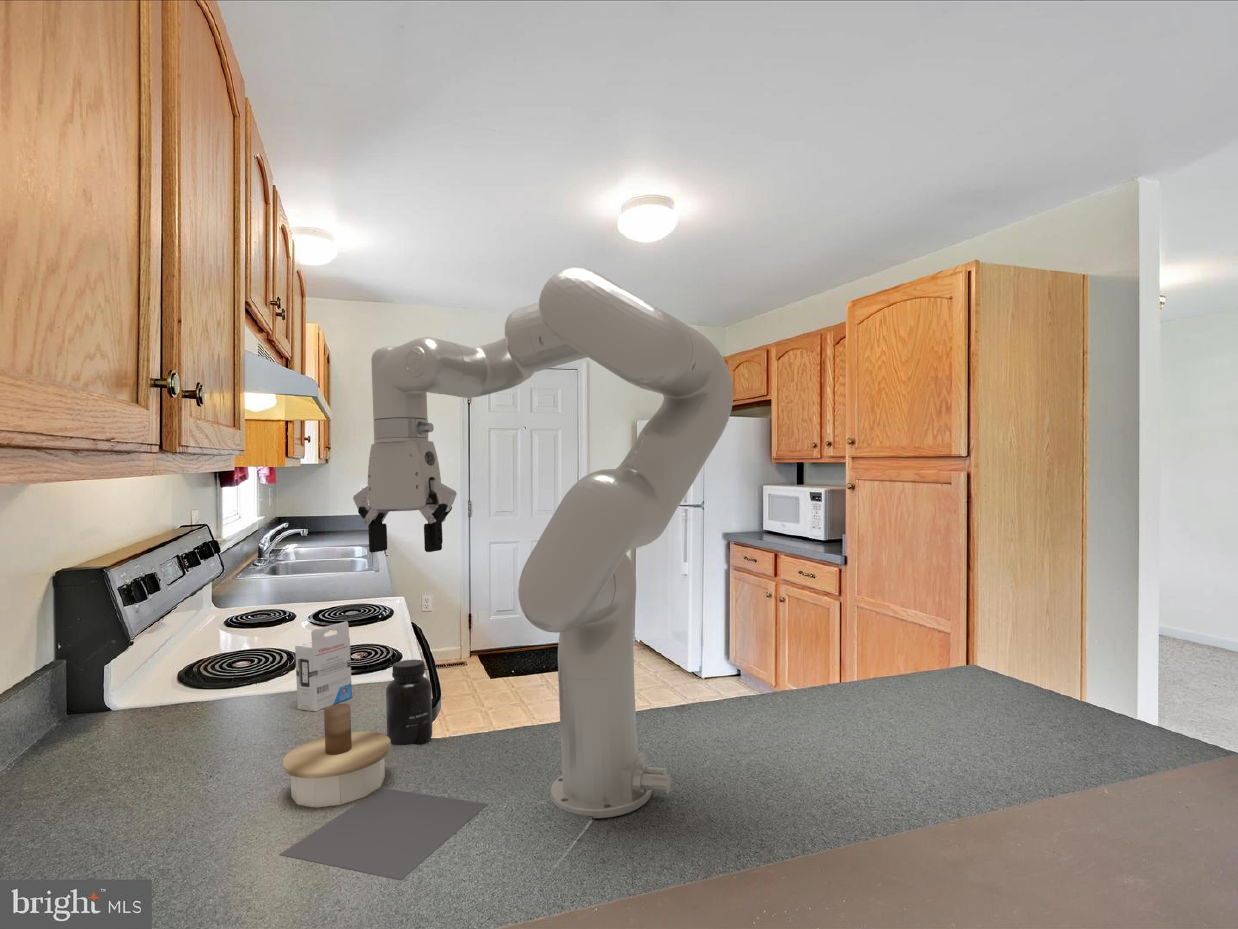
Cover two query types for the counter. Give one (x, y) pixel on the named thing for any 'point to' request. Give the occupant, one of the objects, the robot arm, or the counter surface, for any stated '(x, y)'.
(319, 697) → the ink box
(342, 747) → the lid
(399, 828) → the mat
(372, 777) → the bowl
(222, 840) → the counter surface
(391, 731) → the supplement bottle
